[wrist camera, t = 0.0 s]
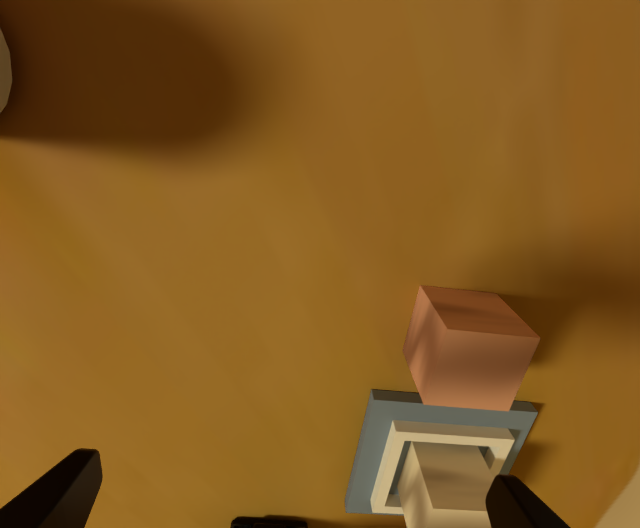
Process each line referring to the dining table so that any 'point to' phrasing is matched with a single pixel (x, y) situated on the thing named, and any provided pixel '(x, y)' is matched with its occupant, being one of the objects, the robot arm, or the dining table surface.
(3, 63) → the can
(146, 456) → the dining table surface
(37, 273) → the dining table surface
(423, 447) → the base block
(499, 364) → the top block
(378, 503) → the board
